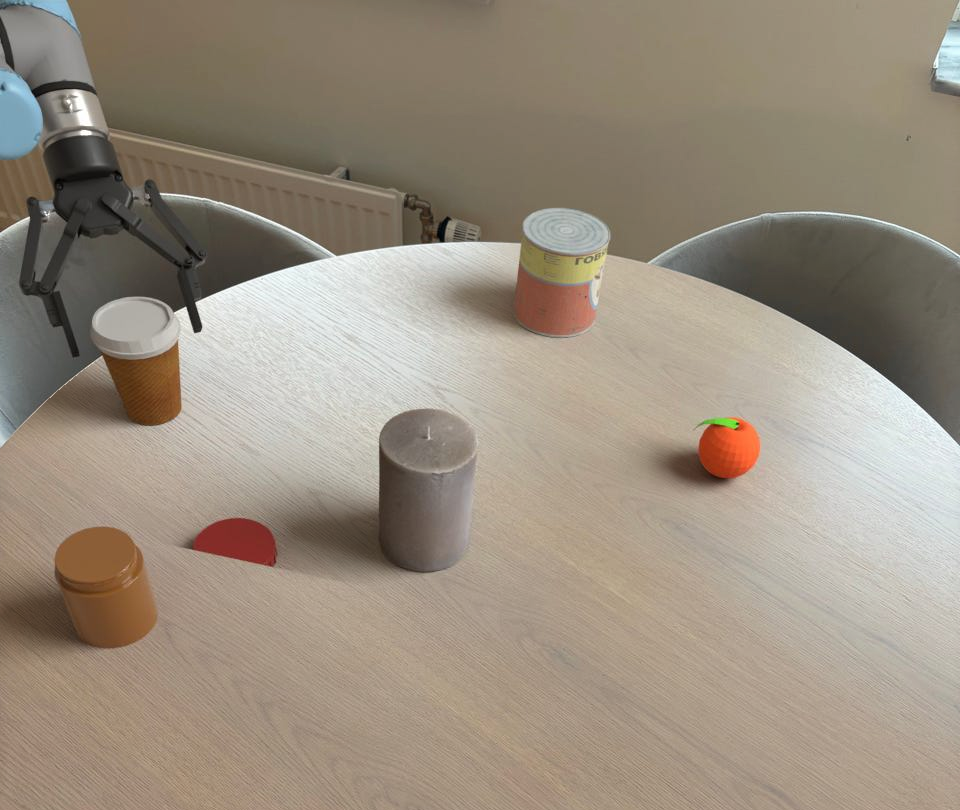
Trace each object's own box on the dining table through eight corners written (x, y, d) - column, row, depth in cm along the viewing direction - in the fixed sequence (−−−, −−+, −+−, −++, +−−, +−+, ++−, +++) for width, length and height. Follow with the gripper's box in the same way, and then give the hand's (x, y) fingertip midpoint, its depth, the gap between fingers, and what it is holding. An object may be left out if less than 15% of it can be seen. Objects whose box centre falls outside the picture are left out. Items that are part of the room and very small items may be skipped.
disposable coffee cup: (179, 440, 112) (159, 350, 103) (98, 427, 113) (72, 336, 103) (207, 390, 118) (191, 301, 109) (130, 378, 119) (108, 288, 109)
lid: (258, 595, 98) (256, 583, 97) (181, 576, 99) (178, 564, 98) (289, 540, 103) (287, 527, 102) (216, 522, 104) (213, 509, 103)
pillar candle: (364, 523, 106) (361, 410, 94) (446, 499, 109) (452, 387, 97) (402, 584, 101) (403, 473, 89) (486, 557, 104) (498, 446, 92)
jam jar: (64, 651, 92) (33, 575, 84) (101, 593, 97) (75, 515, 89) (140, 668, 92) (116, 593, 84) (174, 609, 96) (154, 532, 88)
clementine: (677, 479, 114) (692, 430, 108) (689, 443, 118) (703, 394, 113) (745, 497, 113) (763, 449, 107) (754, 460, 117) (772, 412, 111)
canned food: (588, 344, 130) (603, 260, 120) (505, 328, 131) (513, 243, 122) (601, 299, 137) (616, 216, 127) (522, 284, 138) (531, 201, 129)
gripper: (-52, 148, 99) (18, 358, 103) (193, 116, 107) (251, 312, 110) (-41, 176, 106) (24, 371, 110) (188, 144, 114) (242, 327, 117)
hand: (138, 342), depth 110 cm, fingers open, 13 cm apart
